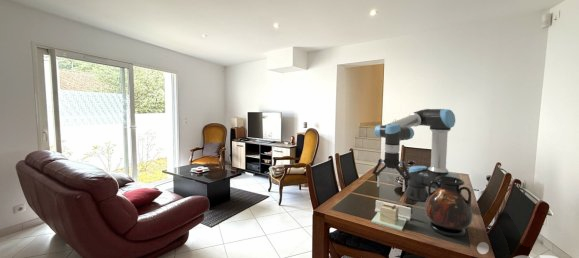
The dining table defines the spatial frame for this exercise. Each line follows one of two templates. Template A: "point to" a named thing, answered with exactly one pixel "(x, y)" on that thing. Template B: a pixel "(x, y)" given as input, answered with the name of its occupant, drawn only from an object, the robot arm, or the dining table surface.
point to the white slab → (402, 211)
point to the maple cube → (389, 213)
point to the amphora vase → (448, 207)
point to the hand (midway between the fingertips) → (390, 188)
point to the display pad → (397, 226)
